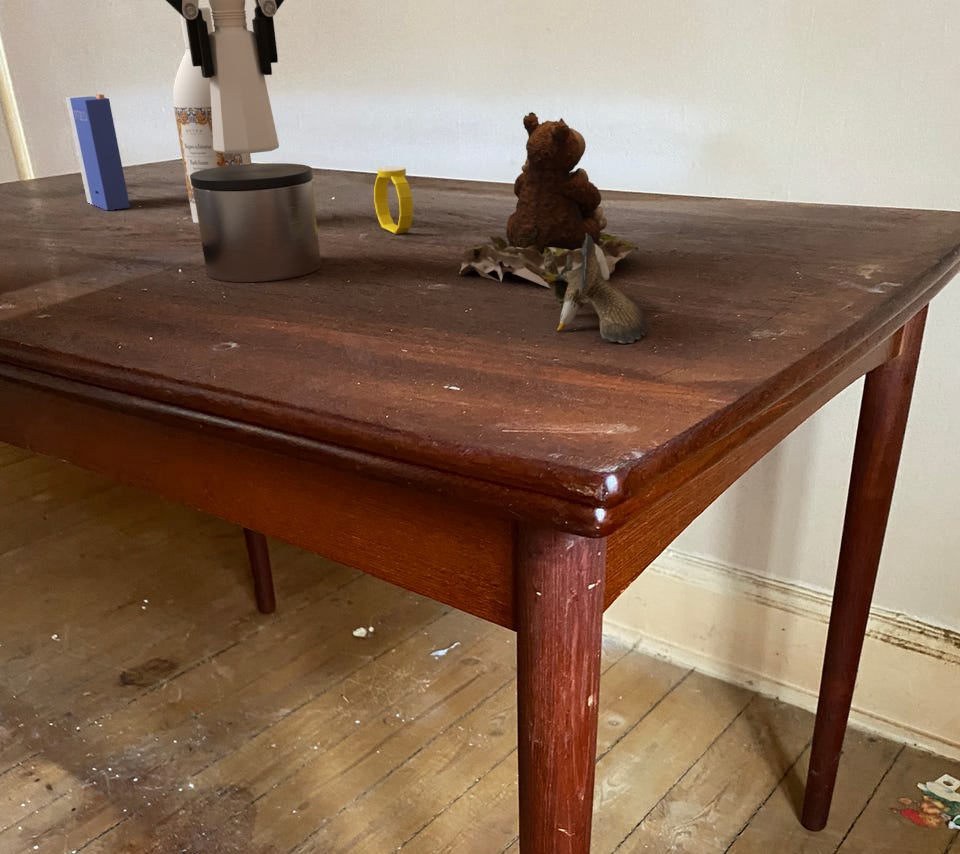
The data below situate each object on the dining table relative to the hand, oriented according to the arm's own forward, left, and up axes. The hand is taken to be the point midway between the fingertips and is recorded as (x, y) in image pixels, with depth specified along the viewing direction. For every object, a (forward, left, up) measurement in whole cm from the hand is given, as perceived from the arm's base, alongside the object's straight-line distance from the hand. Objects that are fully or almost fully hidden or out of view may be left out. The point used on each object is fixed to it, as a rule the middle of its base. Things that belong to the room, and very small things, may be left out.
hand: (236, 72), depth 84 cm
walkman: (-41, +23, -15) cm, 50 cm away
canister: (0, 0, -15) cm, 15 cm away
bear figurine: (+24, +9, -15) cm, 30 cm away
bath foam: (-18, +17, -15) cm, 29 cm away
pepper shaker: (0, 0, -6) cm, 6 cm away
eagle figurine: (+34, -8, -15) cm, 38 cm away
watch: (+2, +19, -15) cm, 25 cm away
